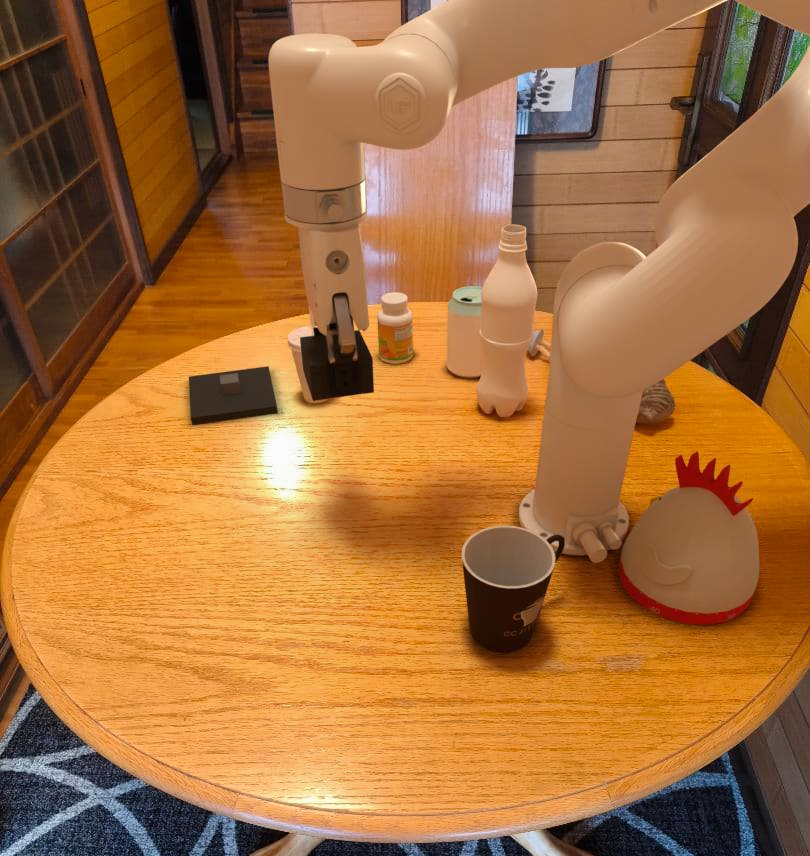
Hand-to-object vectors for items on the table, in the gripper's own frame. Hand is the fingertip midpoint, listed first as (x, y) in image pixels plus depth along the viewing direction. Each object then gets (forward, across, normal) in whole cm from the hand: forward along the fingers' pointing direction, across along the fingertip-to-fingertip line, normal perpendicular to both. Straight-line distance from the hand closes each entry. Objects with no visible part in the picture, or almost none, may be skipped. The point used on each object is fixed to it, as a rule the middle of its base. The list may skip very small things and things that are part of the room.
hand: (337, 375), depth 80 cm
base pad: (+18, +30, +11) cm, 37 cm away
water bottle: (+18, +16, -26) cm, 35 cm away
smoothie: (+18, +27, -1) cm, 32 cm away
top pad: (+1, 0, 0) cm, 1 cm away
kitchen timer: (+18, -22, -33) cm, 43 cm away
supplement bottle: (+18, +36, -15) cm, 43 cm away
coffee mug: (+18, -24, -13) cm, 32 cm away
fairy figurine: (+18, +30, -36) cm, 50 cm away
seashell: (+18, +9, -42) cm, 47 cm away
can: (+18, +28, -25) cm, 42 cm away
